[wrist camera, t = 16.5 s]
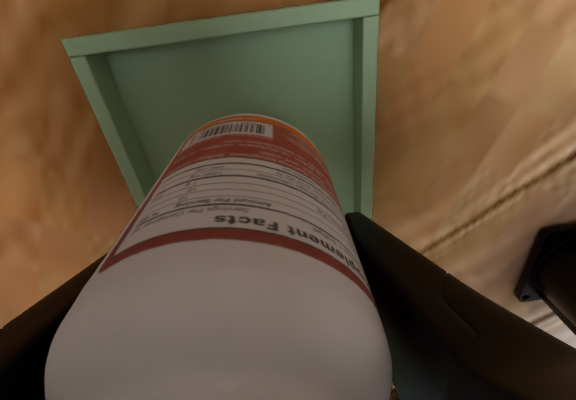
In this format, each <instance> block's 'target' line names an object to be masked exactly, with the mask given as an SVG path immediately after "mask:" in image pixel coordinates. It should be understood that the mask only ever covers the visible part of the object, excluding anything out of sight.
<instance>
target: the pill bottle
mask: <svg viewBox="0 0 576 400" xmlns="http://www.w3.org/2000/svg"><path fill="white" fill-rule="evenodd" d="M392 377H393V366H392V359H391V352H390V348H389V345H388V341H387V337H386V334H385V331H384V328H383V324H382V322H381V319H380V316H379V313H378V309H377V306H376V304H375V301H374V299H373V296H372V293H371V290H370V287H369V284H368V281H367V278H366V276H365V273H364V270H363V267H362V265H361V262H360V259H359V256H358V254H357V251H356V248H355V245H354V242H353V240H352V237H351V234H350V231H349V228H348V225H347V223H346V220H345V218H344V215H343V212H342V209H341V206H340V203H339V200H338V198H337V195H336V192H335V189H334V187H333V184H332V181H331V178H330V175H329V172H328V169H327V167H326V165H325V162H324V160H323V158H322V156H321V155H320V153H319V151H318V150H317V148H316V147H315V145H314V144H313V143H312V142H311V141H310V140H309V139H308V138H307V137H306V136H305V135H304V134H303V133H302V132H300V131H299V130H298V129H296V128H295V127H293V126H292V125H290V124H288V123H286V122H284V121H281V120H279V119H276V118H273V117H269V116H265V115H260V114H250V113H244V114H233V115H228V116H224V117H220V118H218V119H215V120H212V121H210V122H208V123H206V124H204V125H203V126H201V127H200V128H198V129H197V130H196V131H194V132H193V133H192V134H191V135H190V136H189V137H188V138H187V139H186V140H185V141H184V142H183V144H182V145H181V147H180V148H179V149H178V151H177V152H176V154H175V155H174V156H173V158H172V159H171V161H170V162H169V164H168V165H167V167H166V168H165V170H164V171H163V172H162V174H161V176H160V177H159V178H158V180H157V181H156V183H155V184H154V186H153V187H152V188H151V190H150V192H149V193H148V195H147V196H146V198H145V199H144V200H143V202H142V203H141V204H140V206H139V208H138V209H137V211H136V212H135V214H134V215H133V217H132V218H131V220H130V221H129V222H128V224H127V225H126V227H125V228H124V230H123V232H122V233H121V235H120V236H119V237H118V239H117V240H116V242H115V243H114V245H113V246H112V247H111V249H110V250H109V252H108V253H107V255H106V256H105V258H104V259H103V261H102V262H101V263H100V264H99V266H98V267H97V269H96V271H95V272H94V274H93V275H92V276H91V278H90V279H89V280H88V282H87V283H86V284H85V286H84V287H83V289H82V290H81V292H80V294H79V295H78V297H77V299H76V300H75V302H74V304H73V305H72V307H71V308H70V310H69V311H68V313H67V315H66V316H65V318H64V319H63V321H62V322H61V324H60V326H59V328H58V330H57V332H56V334H55V336H54V338H53V341H52V343H51V346H50V349H49V353H48V357H47V361H46V365H45V376H44V384H45V399H46V400H390V394H391V389H392Z"/></svg>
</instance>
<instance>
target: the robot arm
mask: <svg viewBox="0 0 576 400" xmlns="http://www.w3.org/2000/svg"><path fill="white" fill-rule="evenodd" d="M345 220H346V223H347V225H348V228H349V231H350V234H351V237H352V240H353V242H354V245H355V248H356V251H357V254H358V256H359V259H360V262H361V265H362V267H363V270H364V273H365V276H366V278H367V281H368V284H369V287H370V290H371V293H372V296H373V299H374V301H375V304H376V306H377V309H378V313H379V316H380V319H381V322H382V324H383V328H384V331H385V334H386V337H387V341H388V345H389V348H390V352H391V359H392V366H393V377H392V381H393V383H394V386H395V389H396V391H397V394H398V397H399V399H400V400H576V349H575V348H573V347H571V346H570V345H568V344H566V343H564V342H562V341H560V340H559V339H557V338H555V337H553V336H552V335H550V334H548V333H546V332H545V331H543V330H541V329H539V328H538V327H536V326H534V325H532V324H531V323H529V322H527V321H525V320H524V319H522V318H520V317H518V316H517V315H515V314H513V313H512V312H510V311H508V310H506V309H505V308H503V307H501V306H499V305H498V304H496V303H494V302H493V301H491V300H489V299H488V298H486V297H484V296H483V295H481V294H479V293H478V292H476V291H475V290H473V289H472V288H470V287H469V286H467V285H466V284H464V283H463V282H461V281H460V280H458V279H457V278H455V277H454V276H452V275H451V274H449V273H447V272H446V271H445V270H443V269H442V268H440V267H439V266H438V265H436V264H435V263H433V262H432V261H430V260H429V259H427V258H426V257H424V256H423V255H422V254H420V253H419V252H417V251H416V250H414V249H413V248H411V247H410V246H408V245H407V244H406V243H404V242H403V241H401V240H400V239H398V238H397V237H395V236H394V235H392V234H391V233H389V232H388V231H387V230H385V229H384V228H382V227H381V226H379V225H378V224H376V223H375V222H373V221H372V220H371V219H369V218H368V217H366V216H365V215H363V214H362V213H360V212H352V213H347V214H346V215H345ZM106 255H107V253H106V254H105V255H104V256H102V257H101V258H99V259H98V260H97V261H95V262H94V263H92V264H91V265H89V266H88V267H87V268H85V269H84V270H82V271H81V272H80V273H78V274H77V275H75V276H74V277H73V278H71V279H70V280H68V281H67V282H66V283H64V284H63V285H61V286H60V287H58V288H57V289H56V290H54V291H53V292H51V293H50V294H49V295H47V296H46V297H44V298H43V299H42V300H40V301H39V302H37V303H36V304H35V305H33V306H32V307H30V308H29V309H27V310H26V311H25V312H23V313H22V314H20V315H19V316H18V317H16V318H15V319H13V320H12V321H11V322H9V323H8V324H6V325H5V326H4V327H3V329H0V400H46V399H45V384H44V376H45V365H46V361H47V357H48V353H49V349H50V346H51V343H52V341H53V338H54V336H55V334H56V332H57V330H58V328H59V326H60V324H61V322H62V321H63V319H64V318H65V316H66V315H67V313H68V311H69V310H70V308H71V307H72V305H73V304H74V302H75V300H76V299H77V297H78V295H79V294H80V292H81V290H82V289H83V287H84V286H85V284H86V283H87V282H88V280H89V279H90V278H91V276H92V275H93V274H94V272H95V271H96V269H97V267H98V266H99V264H100V263H101V262H102V261H103V259H104V258H105V256H106ZM515 297H516V298H517V299H518V300H519V301H521V302H525V301H533V300H541V299H542V300H543V301H544V302H545V303H546V304H547V305H548V306H549V307H550V308H551V309H552V311H553V312H554V313H555V314H556V315H557V316H558V317H559V318H560V319H561V320H562V321H563V322H564V323H565V324H566V326H567V327H568V328H569V329H570V330H571V331H572V332H573V333H574V334H575V335H576V224H569V225H561V226H553V227H548V228H545V229H543V230H542V231H541V232H540V234H539V236H538V238H537V240H536V243H535V245H534V248H533V250H532V253H531V255H530V258H529V260H528V262H527V265H526V267H525V270H524V272H523V275H522V277H521V280H520V282H519V285H518V287H517V289H516V292H515Z"/></svg>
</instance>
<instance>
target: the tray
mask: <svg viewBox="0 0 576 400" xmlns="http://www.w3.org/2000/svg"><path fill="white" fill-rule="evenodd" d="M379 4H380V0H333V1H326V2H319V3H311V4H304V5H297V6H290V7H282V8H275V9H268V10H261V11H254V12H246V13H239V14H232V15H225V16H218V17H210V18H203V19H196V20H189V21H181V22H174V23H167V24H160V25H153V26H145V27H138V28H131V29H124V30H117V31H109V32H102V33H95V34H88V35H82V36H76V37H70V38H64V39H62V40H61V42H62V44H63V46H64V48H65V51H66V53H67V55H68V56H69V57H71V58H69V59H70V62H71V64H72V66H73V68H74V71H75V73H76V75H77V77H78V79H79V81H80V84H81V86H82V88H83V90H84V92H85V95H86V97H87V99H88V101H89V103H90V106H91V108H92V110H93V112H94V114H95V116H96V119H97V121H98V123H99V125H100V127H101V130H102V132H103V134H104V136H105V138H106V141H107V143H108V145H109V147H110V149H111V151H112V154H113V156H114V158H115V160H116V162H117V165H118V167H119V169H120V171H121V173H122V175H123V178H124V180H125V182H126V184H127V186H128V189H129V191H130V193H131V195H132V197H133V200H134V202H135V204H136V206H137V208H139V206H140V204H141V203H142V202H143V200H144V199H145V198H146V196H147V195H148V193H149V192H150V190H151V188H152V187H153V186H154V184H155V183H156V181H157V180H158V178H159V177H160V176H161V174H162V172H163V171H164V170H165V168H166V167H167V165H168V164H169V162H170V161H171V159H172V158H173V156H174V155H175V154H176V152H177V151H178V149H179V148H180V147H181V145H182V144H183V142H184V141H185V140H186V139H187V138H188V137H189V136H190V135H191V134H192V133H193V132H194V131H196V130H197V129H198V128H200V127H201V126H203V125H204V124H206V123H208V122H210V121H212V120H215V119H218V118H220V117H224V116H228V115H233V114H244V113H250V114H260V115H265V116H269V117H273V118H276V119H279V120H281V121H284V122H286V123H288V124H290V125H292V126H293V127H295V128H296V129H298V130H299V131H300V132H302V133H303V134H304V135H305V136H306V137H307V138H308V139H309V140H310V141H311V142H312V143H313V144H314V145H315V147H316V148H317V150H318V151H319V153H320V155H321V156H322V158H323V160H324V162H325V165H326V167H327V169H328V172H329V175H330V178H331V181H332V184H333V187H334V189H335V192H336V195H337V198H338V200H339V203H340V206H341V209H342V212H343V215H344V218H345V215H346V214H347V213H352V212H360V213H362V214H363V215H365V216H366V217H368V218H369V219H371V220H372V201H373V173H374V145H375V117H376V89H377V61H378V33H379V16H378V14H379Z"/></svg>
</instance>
